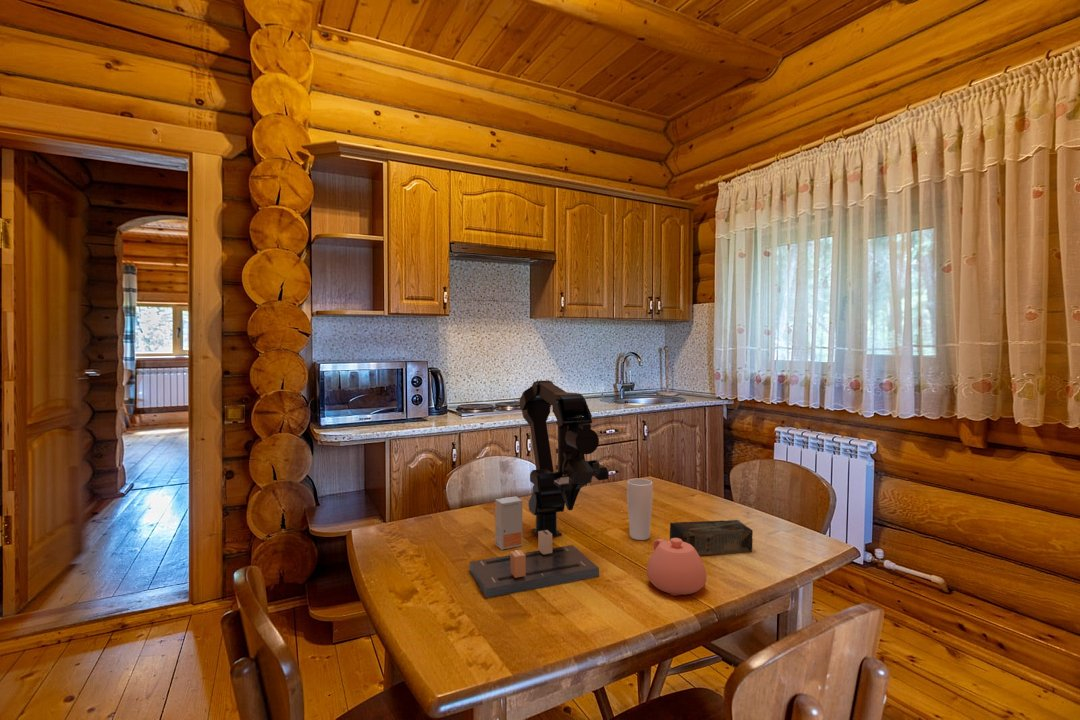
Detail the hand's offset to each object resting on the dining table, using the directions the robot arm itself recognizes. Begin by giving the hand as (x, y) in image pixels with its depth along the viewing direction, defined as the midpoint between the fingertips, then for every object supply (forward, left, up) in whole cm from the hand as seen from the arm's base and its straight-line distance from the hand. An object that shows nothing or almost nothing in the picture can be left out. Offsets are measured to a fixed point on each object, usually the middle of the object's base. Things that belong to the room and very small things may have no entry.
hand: (569, 509), depth 127 cm
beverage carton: (+9, +35, -12) cm, 38 cm away
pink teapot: (+22, +14, -12) cm, 29 cm away
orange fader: (+9, -16, -9) cm, 21 cm away
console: (+5, -12, -12) cm, 17 cm away
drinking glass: (-4, +22, -12) cm, 26 cm away
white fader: (0, -7, -9) cm, 11 cm away
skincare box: (-12, -12, -12) cm, 21 cm away
